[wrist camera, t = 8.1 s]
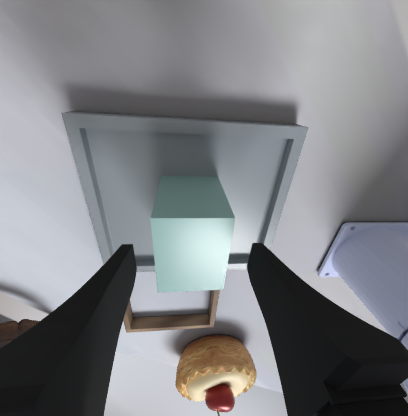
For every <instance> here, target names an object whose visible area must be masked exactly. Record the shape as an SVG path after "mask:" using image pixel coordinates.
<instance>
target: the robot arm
mask: <svg viewBox="0 0 408 416" xmlns="http://www.w3.org/2000/svg"><path fill="white" fill-rule="evenodd" d="M247 270H248V274H249V278H250V282H251V285H252V287H253V290H254V293H255V295H256V298H257V301H258V303H259V306H260V309H261V311H262V314H263V317H264V319H265V322H266V325H267V329H268V333H269V336H270V340H271V344H272V348H273V351H274V355H275V359H276V363H277V368H278V372H279V376H280V381H281V385H282V390H283V395H284V399H285V404H286V409H287V414H288V416H408V403H407V402H406V400H405V399H404V398H403V397H406V396H407V394H406V392H405V391H404V389H403V388H402V387H401V385H400V384H401V383H402V382H403V383H404V386H405V389H406V391H407V393H408V222H348V223H345V224H343V225H342V227H341V229H340V231H339V233H338V235H337V237H336V238H335V240H334V242H333V244H332V246H331V248H330V250H329V252H328V254H327V256H326V258H325V259H324V261H323V263H322V265H321V267H320V269H319V271H318V273H317V274H318V275H319V276H320V277H339V276H340V277H341V278H342V279H343V281H344V282H345V283H346V284H347V285H348V286H349V288H350V289H351V290H352V291H353V292H354V293H355V295H356V296H357V297H358V298H359V299H360V300H361V302H362V303H363V304H364V305H365V306H366V307H367V309H368V310H369V311H370V312H371V313H372V315H373V316H374V317H375V318H376V319H377V320H378V322H379V323H380V324H381V325H382V326H383V327H384V329H385V330H386V331H387V332H388V333H389V334H390V335H389V334H387V333H386V332H384V331H382V330H380V329H378V328H376V327H374V326H372V325H370V324H368V323H366V322H365V321H363V320H361V319H359V318H358V317H356V316H354V315H352V314H351V313H349V312H348V311H346V310H344V309H343V308H341V307H339V306H338V305H336V304H335V303H333V302H332V301H330V300H329V299H327V298H326V297H324V296H323V295H322V294H320V293H319V292H317V291H316V290H315V289H313V288H312V287H311V286H309V285H308V284H307V283H306V282H304V281H303V280H302V279H301V278H299V277H298V276H297V275H296V274H295V273H294V272H292V271H291V270H290V269H289V268H288V267H287V266H286V265H285V264H284V263H283V262H281V261H280V260H279V259H278V258H277V257H276V256H275V255H274V254H273V253H272V252H271V251H270V250H269V249H268V248H267V247H266V246H265V245H264V244H263V243H252V247H251V251H250V255H249V259H248V263H247ZM136 271H137V266H136V260H135V254H134V247H133V244H122V245H121V246H120V247H119V248H118V249H117V250H116V251H115V253H114V254H113V255H112V256H111V257H110V258H109V259H108V261H107V262H106V263H105V264H104V265H103V266H102V267H101V268H100V269H99V270H98V271H97V272H96V273H95V274H94V276H92V277H91V278H90V279H89V280H88V281H87V282H86V283H85V284H84V285H83V286H82V287H81V288H80V289H79V290H78V291H77V292H76V293H75V294H74V295H72V296H71V297H70V298H69V299H68V300H67V301H65V302H64V303H63V304H62V305H61V306H59V307H58V308H57V309H56V310H54V311H53V312H52V313H50V314H49V315H48V316H46V317H45V318H44V319H43V320H41V321H40V322H39V323H37V324H36V325H34V326H33V327H32V328H30V329H29V330H27V331H26V332H25V333H23V334H22V335H20V336H19V337H17V338H16V339H14V340H13V341H11V342H10V343H8V344H7V345H5V346H4V347H2V348H0V416H104V410H105V403H106V398H107V393H108V387H109V382H110V376H111V371H112V366H113V361H114V356H115V351H116V347H117V342H118V337H119V333H120V329H121V326H122V322H123V319H124V316H125V313H126V309H127V306H128V303H129V300H130V297H131V293H132V290H133V287H134V282H135V277H136Z"/></svg>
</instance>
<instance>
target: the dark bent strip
mask: <svg viewBox="0 0 408 416" xmlns="http://www.w3.org/2000/svg"><path fill="white" fill-rule="evenodd" d="M219 291H220V290H211V297H210V305H209V312H208V314H195V315H176V316H157V317H138V318H133V314H132V309H131V304H130V300H129V303H128V306H127V309H126V313H125V316H124V319H123V321H124V325H125V329H126V332H143V331H159V330H175V329H192V328H208V327H214V322H215V316H216V310H217V304H218V298H219Z"/></svg>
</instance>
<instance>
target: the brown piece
mask: <svg viewBox="0 0 408 416" xmlns="http://www.w3.org/2000/svg"><path fill="white" fill-rule="evenodd" d="M39 322H40V321H34V320H33V321H32V320H29V319H23V320H21V321H20V322H19V323H17V322H16V321H8V322H5V323H1V324H0V348H2V347H4V346H5V345H7V344H8V343H10V342H11V341H13V340H14V339H16V338H17V337H19V336H20V335H22V334H23V333H25V332H26V331H27V330H29V329H30V328H32V327H33V326H34V325H36V324H37V323H39Z"/></svg>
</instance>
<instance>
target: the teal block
mask: <svg viewBox="0 0 408 416" xmlns="http://www.w3.org/2000/svg"><path fill="white" fill-rule="evenodd" d="M150 220H151V230H152V240H153V251H154V261H155V271H156V281H157V292H179V291H203V290H223V288H224V282H225V276H226V270H227V265H228V259H229V253H230V247H231V241H232V235H233V229H234V223H235V216H234V214H233V211H232V209H231V206H230V204H229V202H228V199H227V197H226V194H225V192H224V189H223V187H222V185H221V182H220V180H219V177H203V176H161V179H160V183H159V187H158V191H157V195H156V199H155V202H154V206H153V210H152V214H151V218H150Z"/></svg>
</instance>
